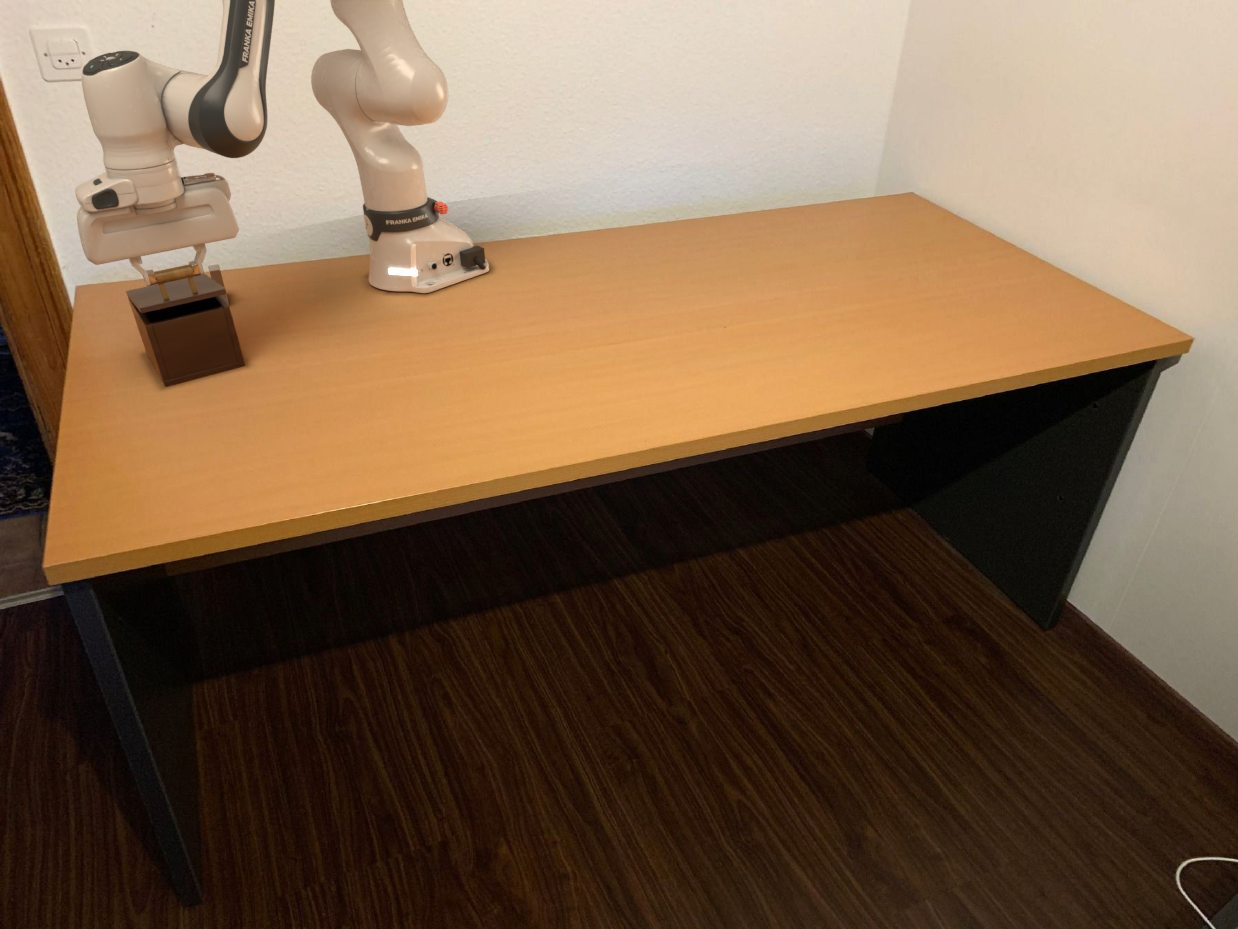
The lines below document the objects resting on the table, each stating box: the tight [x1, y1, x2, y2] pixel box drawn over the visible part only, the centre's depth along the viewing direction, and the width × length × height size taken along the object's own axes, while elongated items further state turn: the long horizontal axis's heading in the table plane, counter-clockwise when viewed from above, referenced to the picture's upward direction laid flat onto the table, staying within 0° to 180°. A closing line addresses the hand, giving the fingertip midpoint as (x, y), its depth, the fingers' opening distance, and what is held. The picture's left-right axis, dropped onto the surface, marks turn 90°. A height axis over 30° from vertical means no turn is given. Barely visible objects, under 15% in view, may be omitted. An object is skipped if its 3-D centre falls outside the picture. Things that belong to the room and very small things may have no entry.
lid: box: [125, 263, 227, 313], centre depth 137 cm, size 14×12×5 cm
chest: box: [127, 296, 246, 388], centre depth 141 cm, size 13×12×10 cm
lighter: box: [207, 264, 230, 305], centre depth 160 cm, size 7×2×8 cm, turn 25°
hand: (175, 279), depth 133 cm, fingers closed on lid, 5 cm apart
